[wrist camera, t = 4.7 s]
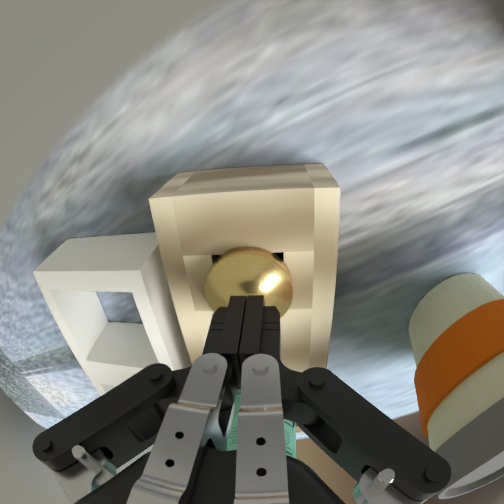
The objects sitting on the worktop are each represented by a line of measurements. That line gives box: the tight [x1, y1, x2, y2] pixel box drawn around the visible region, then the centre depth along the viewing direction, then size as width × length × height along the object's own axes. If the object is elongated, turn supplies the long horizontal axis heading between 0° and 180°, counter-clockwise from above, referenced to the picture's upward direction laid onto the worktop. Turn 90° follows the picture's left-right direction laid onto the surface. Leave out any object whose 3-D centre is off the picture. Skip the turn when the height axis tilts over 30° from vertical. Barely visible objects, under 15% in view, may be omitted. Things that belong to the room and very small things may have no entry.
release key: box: [205, 246, 293, 318], centre depth 18 cm, size 4×4×6 cm
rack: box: [33, 232, 192, 396], centre depth 24 cm, size 20×9×5 cm, turn 4°
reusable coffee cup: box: [408, 273, 504, 499], centre depth 16 cm, size 12×13×15 cm
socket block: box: [149, 164, 340, 432], centre depth 21 cm, size 22×9×5 cm, turn 4°
